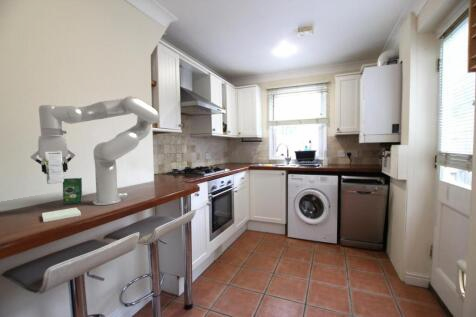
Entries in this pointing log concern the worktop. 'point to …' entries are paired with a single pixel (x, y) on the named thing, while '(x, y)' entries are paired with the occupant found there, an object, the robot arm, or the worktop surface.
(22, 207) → the worktop surface
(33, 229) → the worktop surface
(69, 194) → the coffee box
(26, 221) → the worktop surface
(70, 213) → the sage board
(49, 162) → the syrup box
